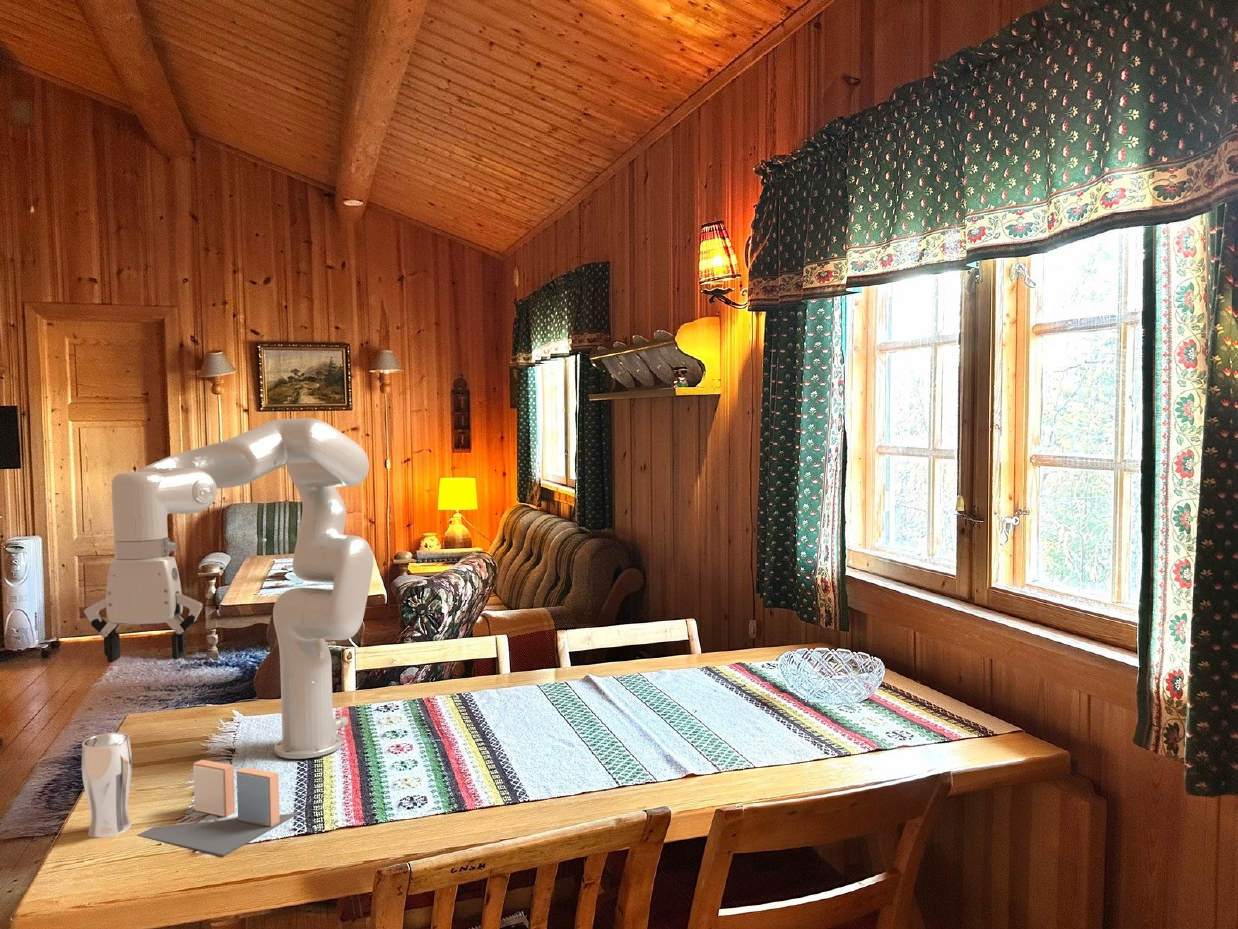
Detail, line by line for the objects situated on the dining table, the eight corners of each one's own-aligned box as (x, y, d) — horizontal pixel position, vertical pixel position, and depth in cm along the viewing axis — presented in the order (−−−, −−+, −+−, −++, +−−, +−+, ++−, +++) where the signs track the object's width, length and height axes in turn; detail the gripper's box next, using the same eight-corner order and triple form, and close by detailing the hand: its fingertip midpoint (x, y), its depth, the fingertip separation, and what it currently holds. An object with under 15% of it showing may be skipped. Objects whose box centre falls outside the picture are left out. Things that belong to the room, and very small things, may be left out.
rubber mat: (228, 796, 160) (227, 792, 160) (309, 812, 153) (309, 808, 153) (137, 838, 144) (137, 835, 144) (223, 858, 137) (223, 854, 137)
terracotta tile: (203, 807, 154) (202, 759, 154) (235, 813, 152) (233, 765, 151) (193, 811, 153) (191, 764, 152) (225, 818, 150) (223, 769, 149)
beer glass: (79, 845, 142) (74, 749, 141) (92, 825, 149) (87, 734, 148) (129, 839, 144) (125, 745, 143) (139, 820, 151) (135, 730, 150)
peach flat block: (246, 815, 151) (245, 767, 150) (279, 822, 148) (278, 773, 148) (236, 820, 149) (235, 771, 148) (269, 827, 146) (268, 777, 146)
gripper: (207, 545, 149) (211, 650, 150) (94, 549, 147) (98, 655, 148) (191, 552, 142) (195, 662, 143) (71, 556, 140) (76, 667, 141)
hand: (146, 658), depth 145 cm, fingers open, 9 cm apart
